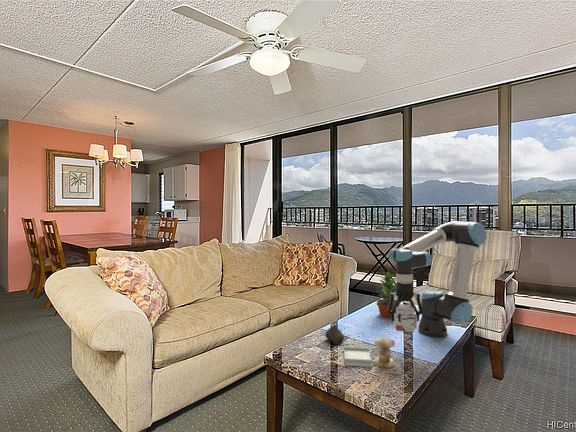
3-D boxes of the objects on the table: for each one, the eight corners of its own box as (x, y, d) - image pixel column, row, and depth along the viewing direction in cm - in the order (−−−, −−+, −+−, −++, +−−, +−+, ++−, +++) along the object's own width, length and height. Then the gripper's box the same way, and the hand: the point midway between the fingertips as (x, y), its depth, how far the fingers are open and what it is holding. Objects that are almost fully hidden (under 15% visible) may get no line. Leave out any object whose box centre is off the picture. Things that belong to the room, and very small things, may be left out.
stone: (346, 348, 173) (343, 330, 180) (344, 342, 167) (342, 323, 174) (327, 350, 175) (326, 332, 182) (325, 343, 169) (323, 325, 176)
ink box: (396, 331, 156) (395, 306, 156) (395, 327, 161) (395, 303, 161) (415, 332, 154) (414, 308, 153) (414, 328, 159) (413, 304, 158)
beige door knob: (392, 358, 153) (392, 337, 153) (396, 368, 144) (396, 346, 144) (373, 357, 154) (373, 337, 154) (375, 367, 145) (375, 345, 145)
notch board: (368, 352, 160) (368, 346, 160) (372, 366, 146) (372, 360, 146) (344, 350, 162) (344, 345, 162) (345, 365, 147) (345, 359, 147)
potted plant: (404, 319, 206) (404, 272, 205) (380, 319, 206) (380, 272, 206) (396, 311, 221) (396, 267, 220) (374, 311, 221) (374, 268, 220)
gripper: (425, 280, 159) (426, 325, 160) (380, 279, 162) (381, 324, 163) (430, 283, 151) (431, 331, 152) (382, 283, 154) (383, 330, 155)
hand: (405, 327), depth 158 cm, fingers closed on ink box, 9 cm apart
